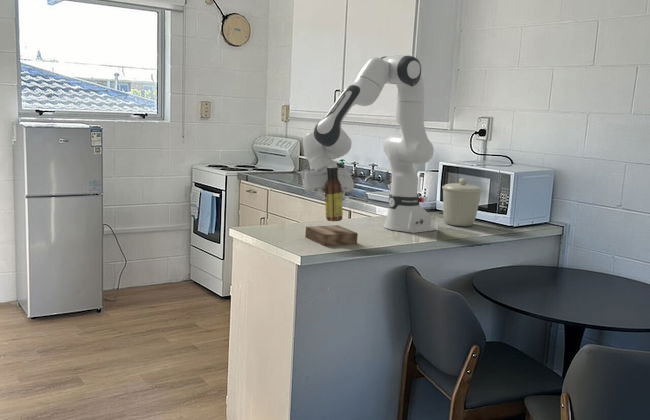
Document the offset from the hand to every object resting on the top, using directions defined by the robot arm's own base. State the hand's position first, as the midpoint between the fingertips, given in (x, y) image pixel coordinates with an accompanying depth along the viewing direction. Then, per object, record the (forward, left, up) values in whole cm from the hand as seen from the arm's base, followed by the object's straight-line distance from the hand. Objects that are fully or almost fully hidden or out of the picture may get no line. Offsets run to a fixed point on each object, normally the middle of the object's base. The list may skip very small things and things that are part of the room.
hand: (334, 199), depth 235 cm
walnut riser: (0, -1, -15) cm, 15 cm away
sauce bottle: (-1, -1, -8) cm, 8 cm away
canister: (-76, -16, -16) cm, 79 cm away
